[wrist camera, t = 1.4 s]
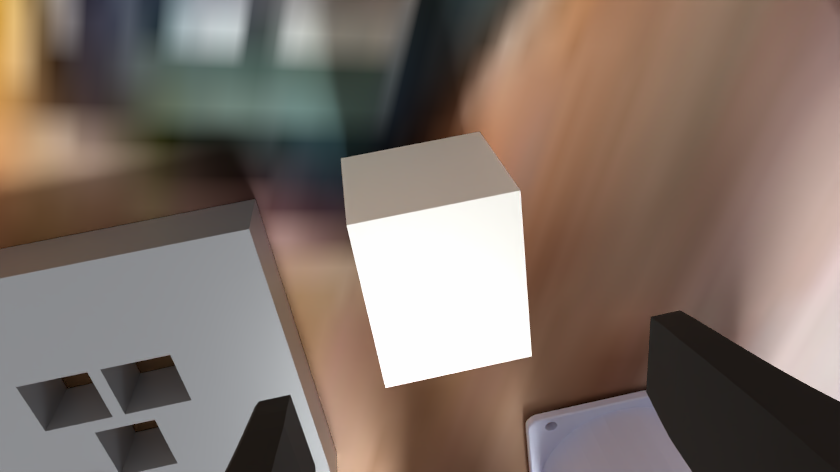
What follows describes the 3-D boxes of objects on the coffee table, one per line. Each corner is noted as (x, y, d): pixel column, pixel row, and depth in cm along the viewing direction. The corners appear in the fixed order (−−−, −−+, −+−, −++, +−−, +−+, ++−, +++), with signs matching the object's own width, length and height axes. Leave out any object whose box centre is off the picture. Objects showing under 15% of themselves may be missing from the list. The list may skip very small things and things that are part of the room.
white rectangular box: (466, 112, 19) (520, 190, 14) (481, 248, 21) (532, 356, 16) (338, 136, 18) (346, 225, 13) (369, 271, 21) (385, 387, 16)
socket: (255, 198, 19) (245, 246, 16) (336, 453, 25) (338, 517, 22) (-136, 275, 18) (-210, 337, 16) (44, 518, 24) (12, 591, 22)
